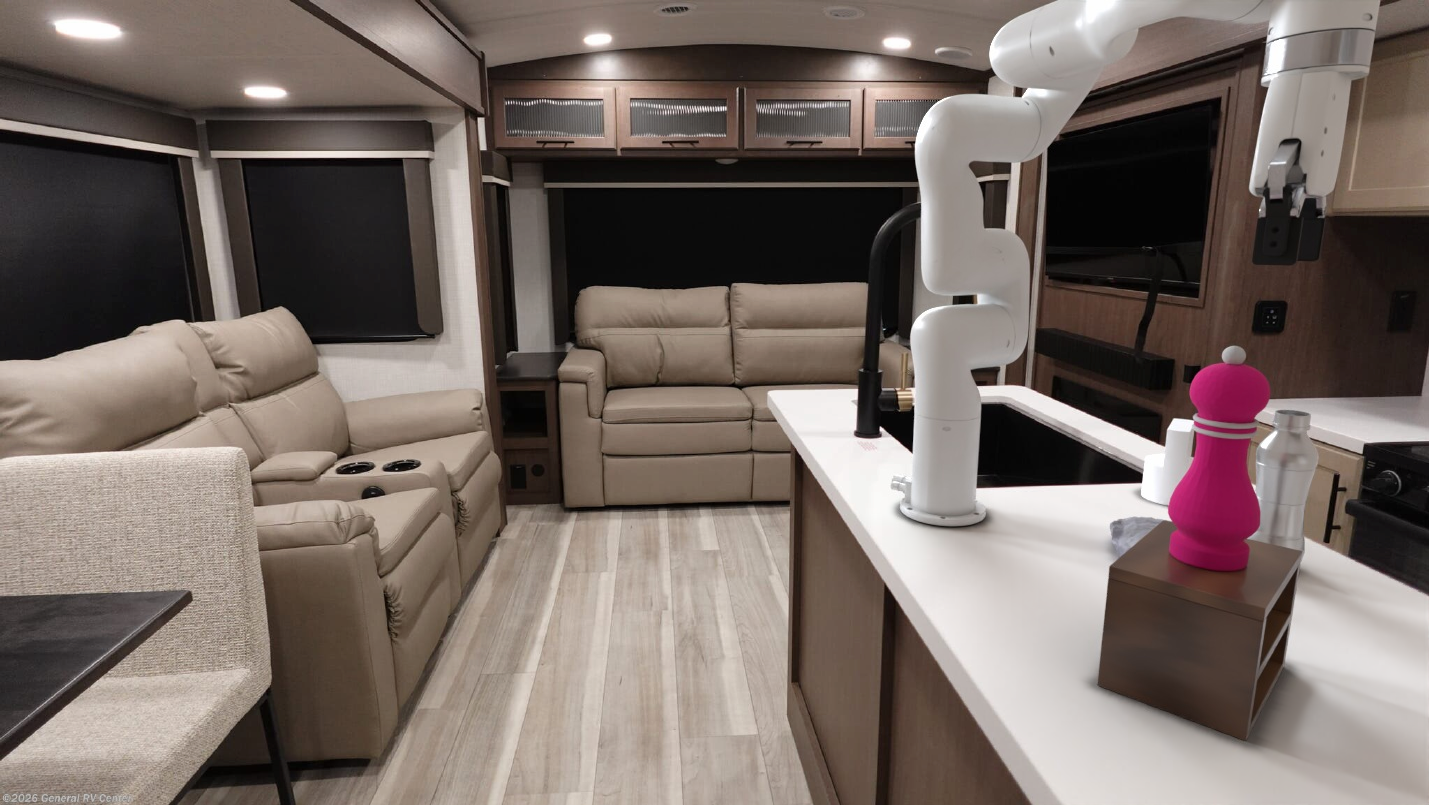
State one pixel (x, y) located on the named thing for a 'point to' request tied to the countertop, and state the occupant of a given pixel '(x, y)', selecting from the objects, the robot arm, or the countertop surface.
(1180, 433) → the base with upright slab
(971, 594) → the countertop surface
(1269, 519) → the silver metal bottle
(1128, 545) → the stone block
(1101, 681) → the shelf
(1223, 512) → the pepper mill
